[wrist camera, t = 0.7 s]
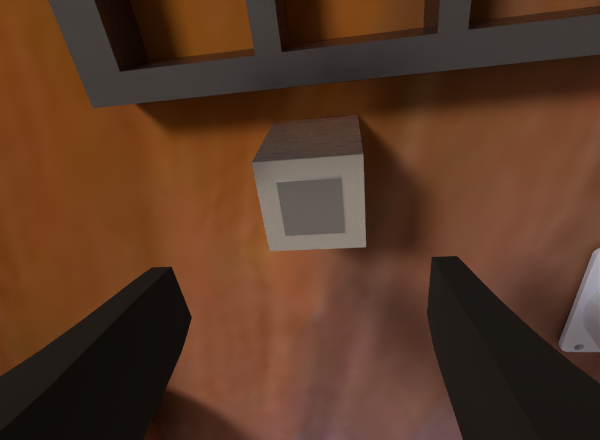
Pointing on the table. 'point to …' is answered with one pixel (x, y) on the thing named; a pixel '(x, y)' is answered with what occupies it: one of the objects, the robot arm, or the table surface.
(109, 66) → the rack rail
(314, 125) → the block
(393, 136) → the table surface
